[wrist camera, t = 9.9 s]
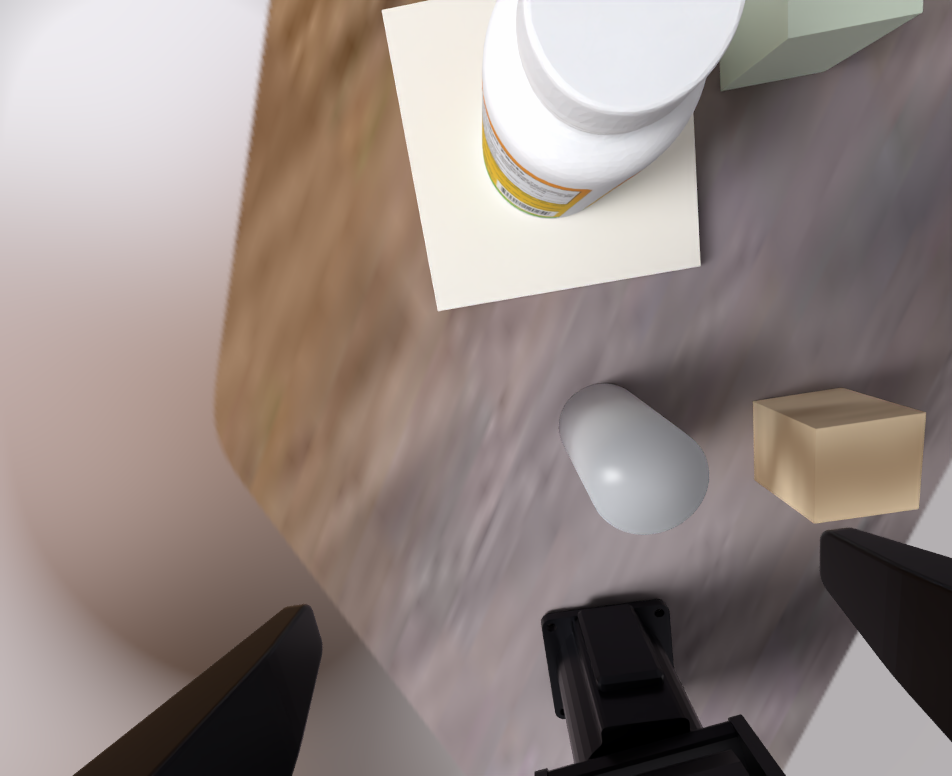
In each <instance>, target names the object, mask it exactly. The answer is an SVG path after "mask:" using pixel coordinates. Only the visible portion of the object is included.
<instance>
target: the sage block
mask: <svg viewBox="0 0 952 776" xmlns="http://www.w3.org/2000/svg"><path fill="white" fill-rule="evenodd" d="M921 13H923V0H745V4H744V8H743V12H742V15H741V18H740V21H739V24H738V27H737V30H736V32H735V35H734V37H733V39H732V41H731V43H730V45H729V47H728V48H727V50H726V52H725V53H724V55H723V56H722V58H721V59H720V89H721V91H725V90H731V89H736V88H741V87H746V86H752V85H757V84H762V83H767V82H773V81H778V80H783V79H789V78H794V77H799V76H804V75H810V74H815V73H820V72H825V71H827V70H828V69H830V68H831V67H833V66H835V65H836V64H838V63H840V62H841V61H843V60H845V59H846V58H848V57H850V56H851V55H853V54H855V53H856V52H858V51H860V50H861V49H863V48H865V47H866V46H868V45H870V44H871V43H873V42H875V41H876V40H878V39H880V38H881V37H883V36H885V35H886V34H888V33H890V32H891V31H893V30H894V29H896V28H898V27H899V26H901V25H903V24H904V23H906V22H908V21H909V20H911V19H913V18H914V17H916V16H918V15H919V14H921Z"/></svg>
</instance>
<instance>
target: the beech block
mask: <svg viewBox="0 0 952 776" xmlns="http://www.w3.org/2000/svg"><path fill="white" fill-rule="evenodd" d="M925 421H926V412H923V411H919V410H916V409H913V408H909V407H906V406H902V405H899V404H896V403H892V402H889V401H886V400H882V399H879V398H875V397H872V396H869V395H865V394H862V393H859V392H855V391H852V390H849V389H845V388H836V389H829V390H823V391H816V392H810V393H803V394H797V395H790V396H784V397H777V398H771V399H764V400H758V401H753V426H754V480H755V481H757V482H758V483H759V484H761V485H762V486H763V487H765V488H766V489H768V490H769V491H770V492H772V493H773V494H774V495H776V496H777V497H779V498H780V499H781V500H783V501H784V502H785V503H787V504H788V505H790V506H791V507H792V508H794V509H795V510H796V511H798V512H799V513H801V514H802V515H803V516H805V517H806V518H807V519H809V520H810V521H811V522H813V523H814V524H815V523H822V522H829V521H836V520H843V519H851V518H858V517H865V516H872V515H879V514H886V513H893V512H901V511H908V510H915V509H919V498H920V485H921V472H922V459H923V446H924V434H925Z"/></svg>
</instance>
